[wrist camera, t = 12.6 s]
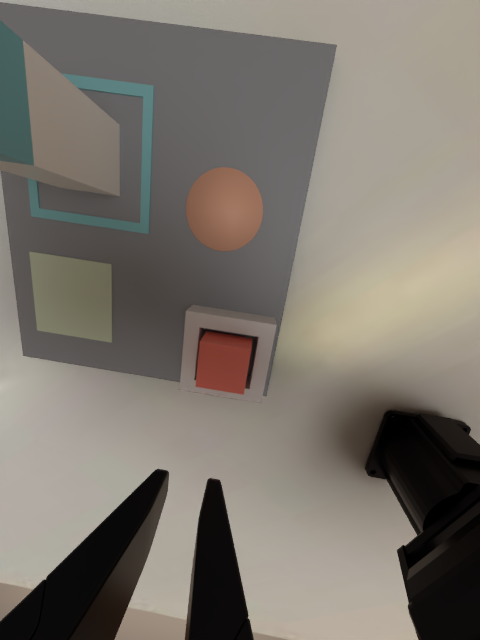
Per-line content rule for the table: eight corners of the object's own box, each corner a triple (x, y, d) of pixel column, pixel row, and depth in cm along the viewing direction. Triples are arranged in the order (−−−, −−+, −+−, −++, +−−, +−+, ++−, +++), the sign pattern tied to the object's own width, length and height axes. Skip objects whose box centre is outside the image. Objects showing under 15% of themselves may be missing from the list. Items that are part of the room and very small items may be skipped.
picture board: (265, 390, 21) (266, 410, 18) (31, 351, 21) (1, 365, 19) (332, 56, 14) (348, 15, 12) (-6, 12, 15) (-60, -35, 12)
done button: (245, 378, 18) (243, 394, 16) (202, 371, 18) (195, 386, 16) (252, 338, 17) (251, 350, 15) (206, 331, 17) (200, 341, 15)
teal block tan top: (119, 196, 16) (-4, 152, 9) (60, 187, 16) (-112, 137, 9) (119, 124, 15) (-23, 0, 8) (55, 116, 15) (-148, -15, 8)
